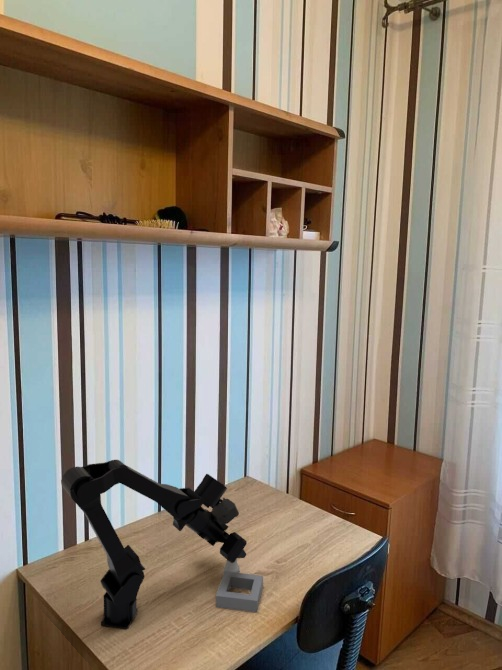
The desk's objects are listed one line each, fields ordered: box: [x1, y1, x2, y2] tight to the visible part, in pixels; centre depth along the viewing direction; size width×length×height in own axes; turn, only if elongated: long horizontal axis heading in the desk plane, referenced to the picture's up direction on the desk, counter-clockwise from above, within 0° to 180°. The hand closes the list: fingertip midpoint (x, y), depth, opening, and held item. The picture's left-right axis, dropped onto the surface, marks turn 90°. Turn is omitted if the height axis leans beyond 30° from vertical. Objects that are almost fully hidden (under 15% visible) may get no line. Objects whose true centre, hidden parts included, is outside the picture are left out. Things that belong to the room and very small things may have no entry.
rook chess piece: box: [222, 558, 241, 574], centre depth 137 cm, size 4×4×8 cm
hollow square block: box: [215, 571, 264, 613], centre depth 128 cm, size 10×10×3 cm
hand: (236, 548), depth 138 cm, fingers open, 8 cm apart
